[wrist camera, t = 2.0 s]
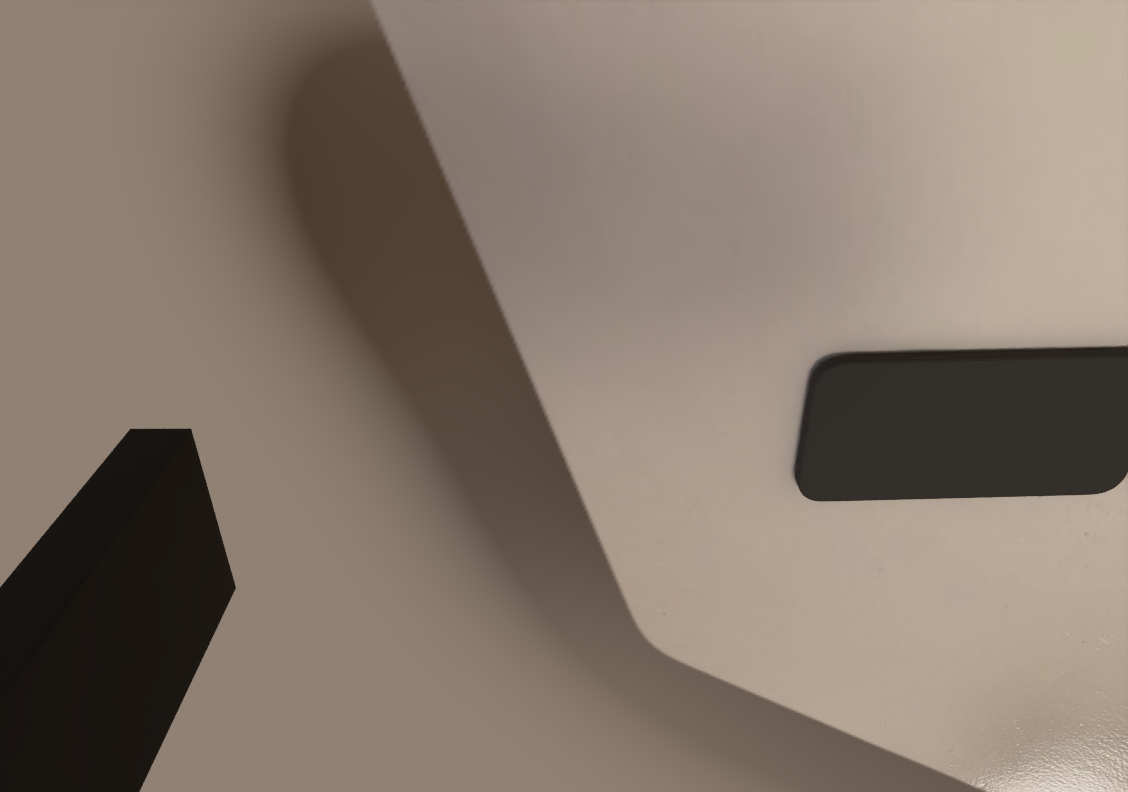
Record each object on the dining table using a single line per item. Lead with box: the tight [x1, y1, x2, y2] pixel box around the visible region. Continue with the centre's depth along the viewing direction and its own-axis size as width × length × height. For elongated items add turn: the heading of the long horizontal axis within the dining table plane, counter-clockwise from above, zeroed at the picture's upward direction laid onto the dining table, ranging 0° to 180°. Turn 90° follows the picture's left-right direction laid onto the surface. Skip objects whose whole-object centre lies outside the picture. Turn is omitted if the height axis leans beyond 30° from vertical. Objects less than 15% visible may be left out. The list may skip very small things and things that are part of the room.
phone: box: [795, 349, 1128, 501], centre depth 36 cm, size 7×1×15 cm
